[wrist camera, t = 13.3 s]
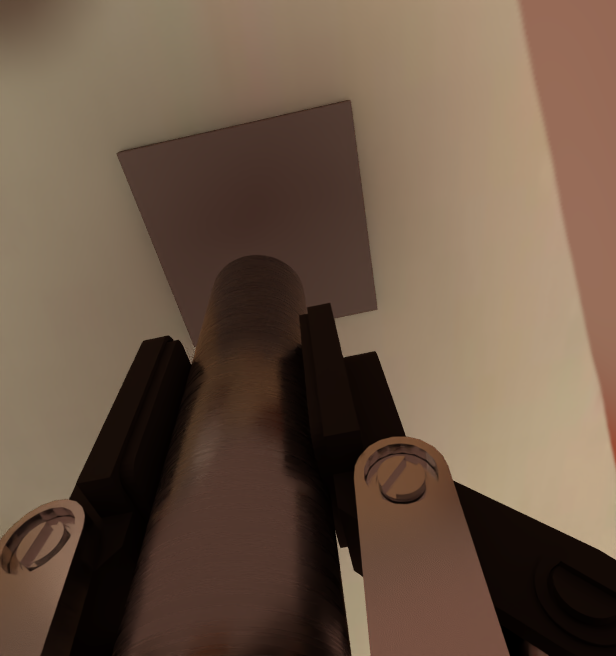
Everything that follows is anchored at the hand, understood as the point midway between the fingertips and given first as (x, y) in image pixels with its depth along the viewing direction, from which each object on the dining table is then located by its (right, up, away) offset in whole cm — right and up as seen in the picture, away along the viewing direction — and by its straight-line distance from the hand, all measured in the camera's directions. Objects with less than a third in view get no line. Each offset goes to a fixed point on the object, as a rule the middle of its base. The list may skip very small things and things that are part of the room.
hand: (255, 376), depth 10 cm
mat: (-1, +5, +9) cm, 10 cm away
